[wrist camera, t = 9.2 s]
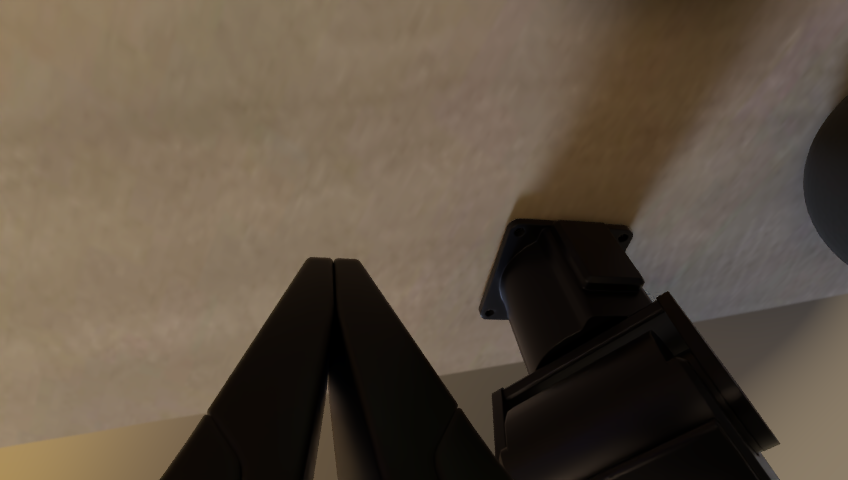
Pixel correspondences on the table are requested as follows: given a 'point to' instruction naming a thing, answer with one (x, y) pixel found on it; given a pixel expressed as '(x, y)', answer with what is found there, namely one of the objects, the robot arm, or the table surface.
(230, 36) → the table surface
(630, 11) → the table surface
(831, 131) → the decorative ball
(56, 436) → the table surface
